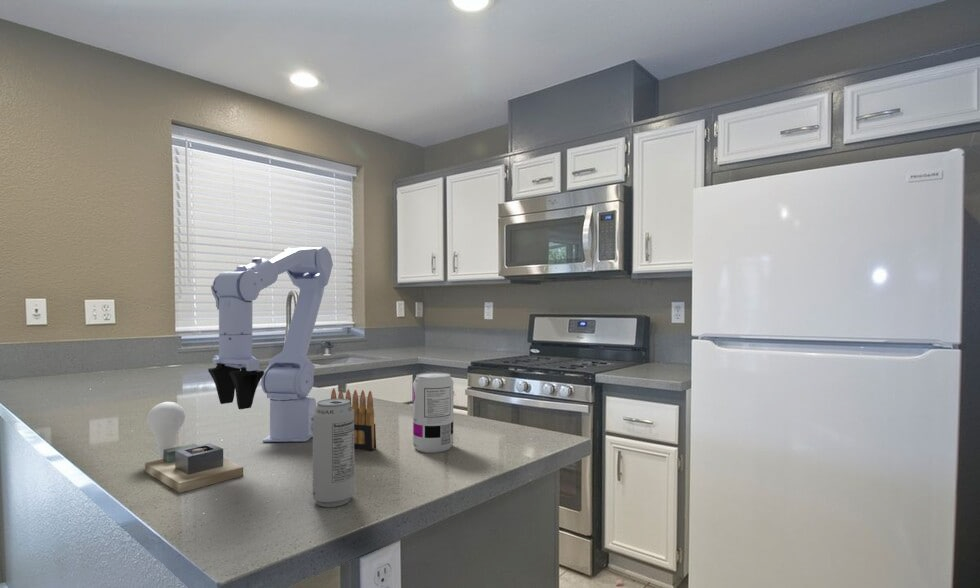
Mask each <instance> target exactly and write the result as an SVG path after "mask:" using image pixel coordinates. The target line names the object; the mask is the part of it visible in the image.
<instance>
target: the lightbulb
mask: <svg viewBox="0 0 980 588" xmlns="http://www.w3.org/2000/svg"><path fill="white" fill-rule="evenodd" d="M185 418H186V413H185V409H184V408H183V407H182V406H181V405H180V404H179V403H178V402H173V401H164V402H159V403H158V404H156V405H155V406H153V407H152V408H151V410H150V411H149V412H148V413H147V418H146V421H147V426H148V427H149V429H150V431H151V432H152V433H153V436H154V438H155V442H156V447H157V455H158V458H160V459H163V450H165V449H169V448H174V447H175V445H176V444H177V437H178V434H179V431H180V430H181V427H182V426H183V424H184V422H185Z"/></svg>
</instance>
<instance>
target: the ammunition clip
mask: <svg viewBox="0 0 980 588" xmlns="http://www.w3.org/2000/svg"><path fill="white" fill-rule="evenodd" d="M372 393H373V392H372V390H369V392H368V394H367V399H366V394H365V390H364V389H362V390H361V393H360V396H359V395H358V392H357V390H356V389H355V390H354V391H353V393H352V395H351V391H350V389H347V390H346V394H345V396H344V392H343V388H340V389H339V392H338V396H337V392H336V389H335V388H332V391H331V393H330V399H348V400H350V405H351V407H352V408H353V410H354V450H358V451H366V452H371V451H374V450H376V449H377V437H376V436H377V435H376V423H375V409H374V399H373V394H372Z"/></svg>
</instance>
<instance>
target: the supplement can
mask: <svg viewBox="0 0 980 588" xmlns="http://www.w3.org/2000/svg"><path fill="white" fill-rule="evenodd" d="M412 391H413V392H412V397H413V399H412V405H413V406H412V410H413V412H412V415H413V416H412V420H413V422H412V424H413V425H412V436H413V437H412V445H413V448H415V449H416V451H418V452H420V453H426V454H427V453H429V454H432V453H433V454H435V453H436V454H437V453H443V452H447V451H448V450H450V449H451V447H452V446H453V445H454V380H453V378H452V376H451V374H450V373H447V372H424V373H418V374H416V377H415V378H414V380H413V382H412Z"/></svg>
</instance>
